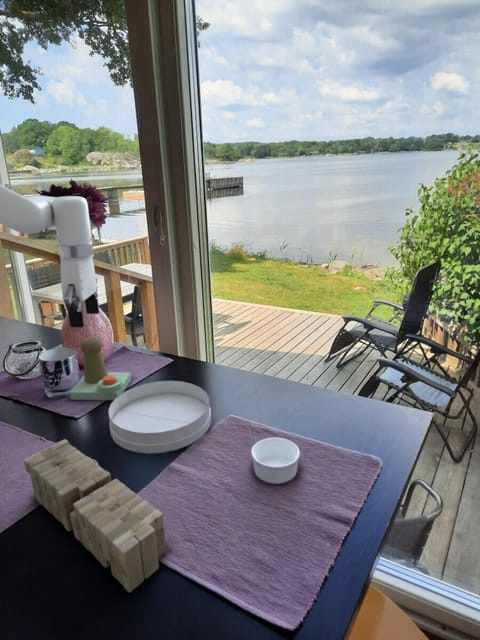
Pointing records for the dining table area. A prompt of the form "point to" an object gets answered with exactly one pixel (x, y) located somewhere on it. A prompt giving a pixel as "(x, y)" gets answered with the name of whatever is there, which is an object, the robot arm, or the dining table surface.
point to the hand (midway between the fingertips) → (85, 319)
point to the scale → (101, 388)
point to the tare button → (109, 380)
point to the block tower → (99, 512)
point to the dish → (159, 416)
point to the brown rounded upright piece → (93, 360)
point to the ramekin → (275, 460)
